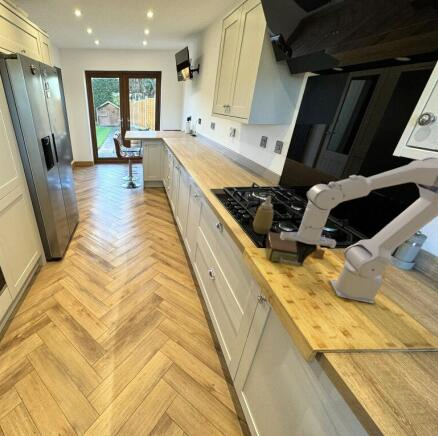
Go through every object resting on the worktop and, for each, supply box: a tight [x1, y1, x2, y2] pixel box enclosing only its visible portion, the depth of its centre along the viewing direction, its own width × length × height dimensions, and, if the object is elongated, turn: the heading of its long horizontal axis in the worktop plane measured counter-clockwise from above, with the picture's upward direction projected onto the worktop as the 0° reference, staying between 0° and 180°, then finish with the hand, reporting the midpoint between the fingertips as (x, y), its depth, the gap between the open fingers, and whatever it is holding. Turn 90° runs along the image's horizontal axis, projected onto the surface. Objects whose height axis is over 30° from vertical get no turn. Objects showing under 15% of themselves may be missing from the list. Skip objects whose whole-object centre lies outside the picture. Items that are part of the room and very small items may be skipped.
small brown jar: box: [311, 244, 326, 260], centre depth 96 cm, size 4×5×4 cm
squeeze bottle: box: [252, 195, 275, 235], centre depth 109 cm, size 8×8×18 cm
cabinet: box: [264, 231, 305, 267], centre depth 96 cm, size 14×12×6 cm
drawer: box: [270, 250, 303, 267], centre depth 92 cm, size 17×10×4 cm, turn 161°
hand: (299, 261), depth 77 cm, fingers closed
